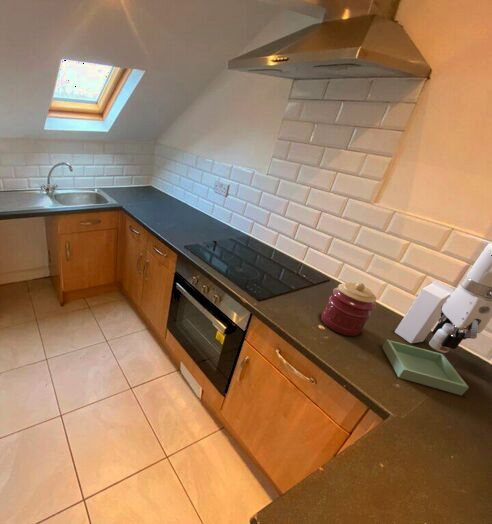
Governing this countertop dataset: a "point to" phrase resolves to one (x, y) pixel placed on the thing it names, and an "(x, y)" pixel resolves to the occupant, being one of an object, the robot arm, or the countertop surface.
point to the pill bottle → (441, 337)
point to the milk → (424, 312)
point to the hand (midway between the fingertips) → (443, 340)
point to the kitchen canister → (349, 308)
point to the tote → (424, 367)
